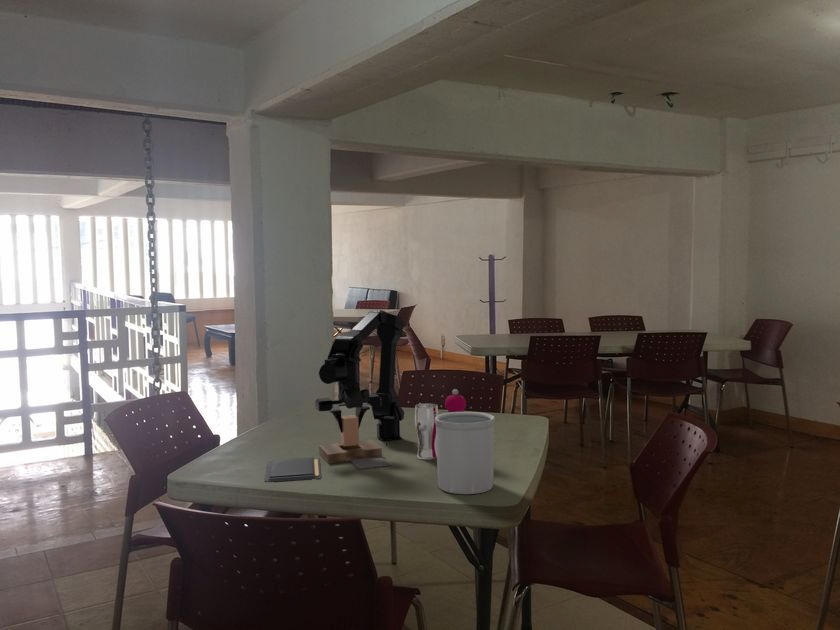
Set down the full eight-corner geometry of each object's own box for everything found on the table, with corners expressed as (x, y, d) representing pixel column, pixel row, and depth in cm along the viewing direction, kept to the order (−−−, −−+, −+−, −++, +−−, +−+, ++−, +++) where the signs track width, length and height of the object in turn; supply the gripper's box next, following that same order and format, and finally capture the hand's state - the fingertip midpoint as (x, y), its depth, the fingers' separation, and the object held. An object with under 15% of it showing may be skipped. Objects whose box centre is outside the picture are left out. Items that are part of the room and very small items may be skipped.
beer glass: (442, 454, 203) (441, 403, 202) (435, 461, 197) (434, 408, 196) (419, 453, 206) (418, 402, 205) (411, 459, 199) (410, 407, 198)
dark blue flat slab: (268, 457, 199) (322, 454, 201) (268, 464, 200) (322, 461, 202) (261, 478, 180) (321, 474, 182) (262, 485, 180) (321, 482, 182)
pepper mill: (451, 463, 194) (450, 392, 193) (439, 457, 201) (437, 388, 199) (473, 459, 197) (472, 389, 196) (460, 453, 204) (459, 386, 202)
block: (355, 441, 207) (354, 414, 206) (359, 444, 203) (358, 417, 202) (340, 442, 205) (339, 416, 205) (344, 446, 201) (343, 419, 201)
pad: (380, 457, 201) (380, 456, 201) (390, 465, 193) (390, 464, 193) (350, 461, 198) (350, 459, 198) (359, 469, 190) (359, 468, 190)
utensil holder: (444, 475, 183) (443, 409, 182) (500, 479, 179) (499, 411, 177) (428, 493, 169) (427, 421, 168) (489, 497, 165) (488, 424, 163)
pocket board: (371, 448, 212) (370, 439, 212) (381, 457, 202) (381, 448, 202) (319, 454, 207) (319, 445, 207) (327, 463, 196) (327, 454, 196)
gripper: (322, 385, 192) (324, 441, 193) (386, 380, 199) (388, 434, 200) (314, 379, 202) (315, 432, 203) (375, 374, 209) (376, 426, 210)
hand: (349, 431), depth 204 cm, fingers closed on block, 4 cm apart
